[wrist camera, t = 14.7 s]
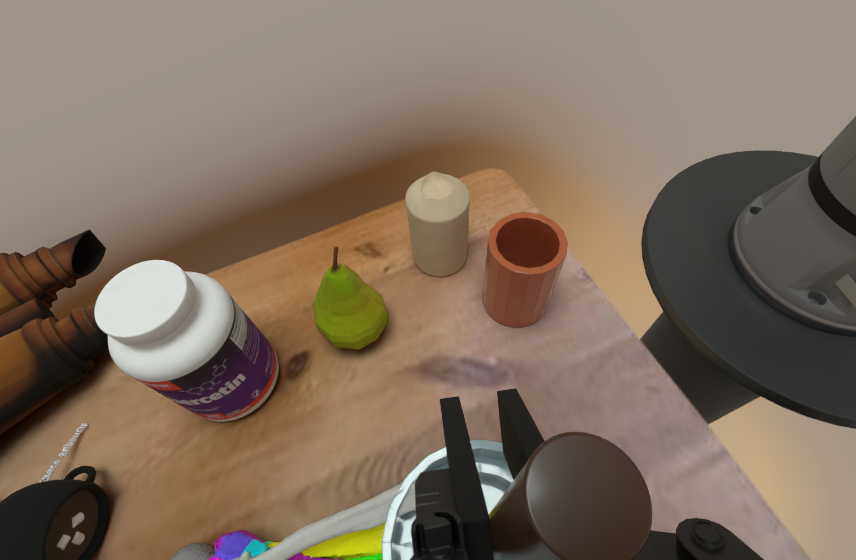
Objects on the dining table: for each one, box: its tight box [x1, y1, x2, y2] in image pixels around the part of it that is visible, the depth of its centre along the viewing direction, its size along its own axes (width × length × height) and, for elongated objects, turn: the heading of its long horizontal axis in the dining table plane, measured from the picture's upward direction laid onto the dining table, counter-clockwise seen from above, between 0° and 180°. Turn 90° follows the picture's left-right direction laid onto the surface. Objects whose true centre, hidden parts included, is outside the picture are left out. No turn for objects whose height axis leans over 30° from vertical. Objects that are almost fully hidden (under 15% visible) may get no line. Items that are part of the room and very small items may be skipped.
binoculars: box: [0, 230, 109, 435], centre depth 39 cm, size 18×8×20 cm
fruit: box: [313, 247, 388, 350], centre depth 36 cm, size 6×6×12 cm
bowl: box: [381, 439, 513, 560], centre depth 29 cm, size 12×12×6 cm
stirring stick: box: [489, 432, 652, 560], centre depth 15 cm, size 3×2×22 cm, turn 97°
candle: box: [405, 172, 469, 277], centre depth 41 cm, size 6×6×10 cm
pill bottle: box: [94, 260, 279, 422], centre depth 33 cm, size 8×8×14 cm
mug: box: [0, 422, 109, 560], centre depth 33 cm, size 12×6×7 cm
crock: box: [483, 212, 568, 327], centre depth 38 cm, size 6×6×9 cm
